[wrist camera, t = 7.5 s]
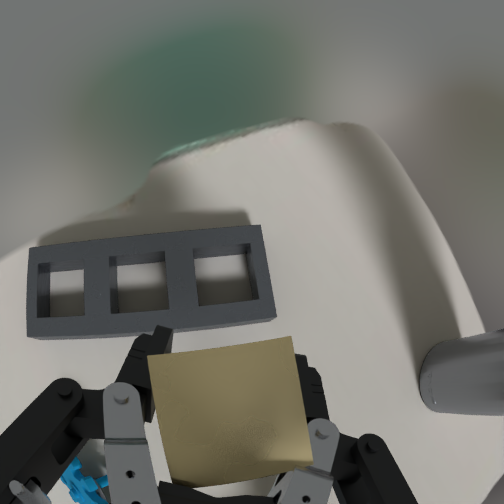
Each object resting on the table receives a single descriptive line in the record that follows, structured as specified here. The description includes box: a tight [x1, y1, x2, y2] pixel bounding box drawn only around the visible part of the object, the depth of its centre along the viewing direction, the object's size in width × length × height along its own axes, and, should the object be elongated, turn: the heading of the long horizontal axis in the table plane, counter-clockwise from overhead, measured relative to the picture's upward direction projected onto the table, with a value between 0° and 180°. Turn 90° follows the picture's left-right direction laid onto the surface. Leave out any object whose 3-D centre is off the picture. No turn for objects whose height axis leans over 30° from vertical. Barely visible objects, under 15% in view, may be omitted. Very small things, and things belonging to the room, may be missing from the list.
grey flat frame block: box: [26, 225, 277, 340], centre depth 28 cm, size 24×9×3 cm, turn 99°
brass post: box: [147, 336, 314, 488], centre depth 12 cm, size 4×4×10 cm
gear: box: [60, 457, 109, 504], centre depth 19 cm, size 11×6×10 cm
